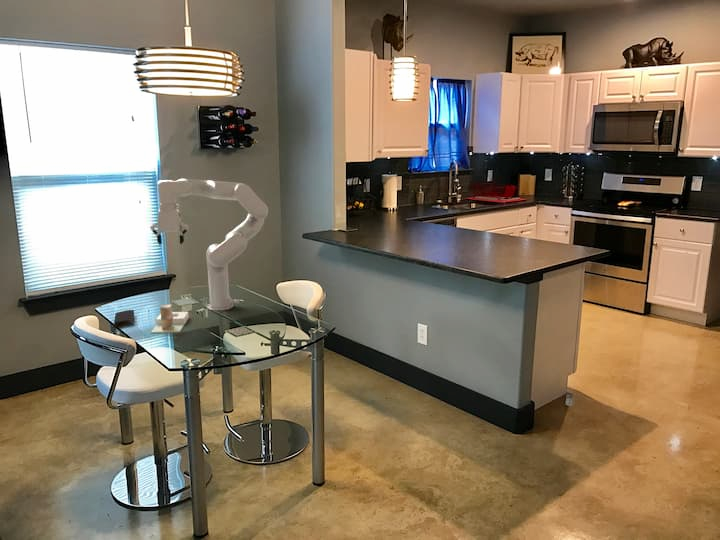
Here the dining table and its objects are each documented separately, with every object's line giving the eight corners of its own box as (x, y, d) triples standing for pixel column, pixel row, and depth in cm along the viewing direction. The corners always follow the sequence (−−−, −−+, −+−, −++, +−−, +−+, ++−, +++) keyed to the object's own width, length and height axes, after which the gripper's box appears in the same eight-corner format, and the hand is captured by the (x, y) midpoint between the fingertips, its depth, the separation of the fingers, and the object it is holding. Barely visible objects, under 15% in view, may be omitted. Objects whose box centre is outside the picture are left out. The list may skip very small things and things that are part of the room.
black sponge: (134, 326, 256) (133, 318, 255) (114, 329, 253) (113, 321, 252) (134, 316, 271) (134, 309, 270) (115, 318, 268) (114, 310, 267)
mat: (184, 326, 255) (183, 324, 255) (179, 333, 246) (179, 331, 246) (156, 327, 254) (156, 325, 254) (151, 334, 245) (150, 332, 245)
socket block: (188, 318, 266) (188, 311, 265) (184, 325, 256) (183, 318, 255) (162, 319, 264) (161, 312, 264) (156, 326, 255) (156, 319, 254)
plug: (173, 326, 252) (171, 304, 250) (171, 329, 248) (169, 307, 246) (164, 326, 252) (162, 304, 249) (162, 329, 248) (160, 307, 245)
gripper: (188, 206, 269) (191, 241, 273) (150, 206, 268) (153, 242, 272) (185, 208, 262) (188, 244, 266) (146, 208, 261) (149, 245, 264)
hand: (171, 243), depth 269 cm, fingers open, 9 cm apart
